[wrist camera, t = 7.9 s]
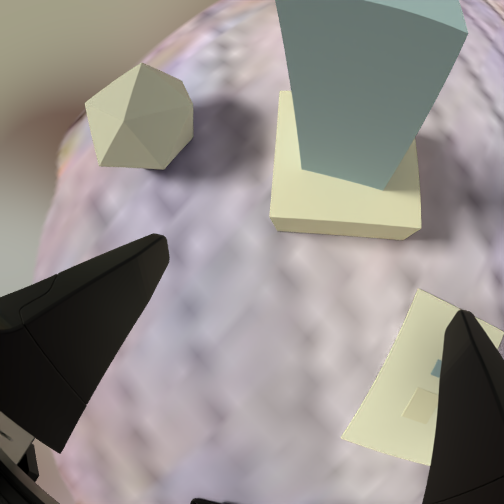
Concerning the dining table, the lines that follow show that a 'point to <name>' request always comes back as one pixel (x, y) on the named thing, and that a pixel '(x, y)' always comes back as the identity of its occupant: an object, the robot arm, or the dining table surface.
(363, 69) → the blue brick
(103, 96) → the die
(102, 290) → the robot arm
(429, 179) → the dining table surface
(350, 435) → the plate
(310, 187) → the base brick
